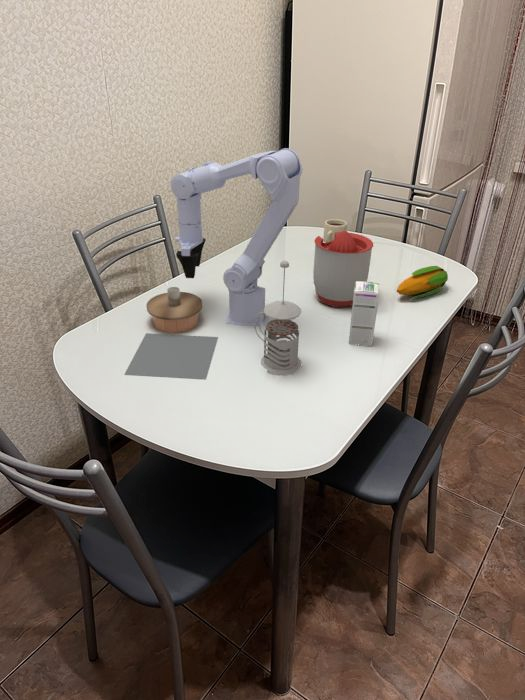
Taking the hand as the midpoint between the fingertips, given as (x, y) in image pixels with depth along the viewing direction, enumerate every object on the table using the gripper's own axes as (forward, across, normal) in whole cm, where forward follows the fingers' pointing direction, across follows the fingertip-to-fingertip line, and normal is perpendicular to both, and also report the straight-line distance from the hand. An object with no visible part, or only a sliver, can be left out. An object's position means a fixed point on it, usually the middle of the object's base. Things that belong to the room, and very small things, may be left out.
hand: (192, 271), depth 137 cm
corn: (+10, -14, +64) cm, 66 cm away
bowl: (+10, +10, -3) cm, 14 cm away
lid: (+5, +10, -3) cm, 12 cm away
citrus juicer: (+10, -9, +39) cm, 41 cm away
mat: (+10, +26, 0) cm, 28 cm away
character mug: (+10, -36, +39) cm, 54 cm away
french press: (+10, +26, +24) cm, 37 cm away
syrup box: (+10, +14, +44) cm, 47 cm away
